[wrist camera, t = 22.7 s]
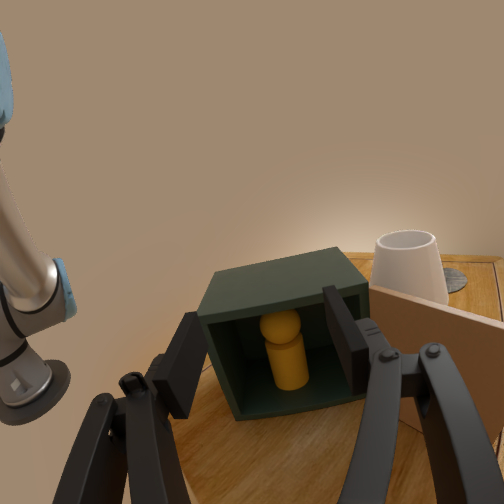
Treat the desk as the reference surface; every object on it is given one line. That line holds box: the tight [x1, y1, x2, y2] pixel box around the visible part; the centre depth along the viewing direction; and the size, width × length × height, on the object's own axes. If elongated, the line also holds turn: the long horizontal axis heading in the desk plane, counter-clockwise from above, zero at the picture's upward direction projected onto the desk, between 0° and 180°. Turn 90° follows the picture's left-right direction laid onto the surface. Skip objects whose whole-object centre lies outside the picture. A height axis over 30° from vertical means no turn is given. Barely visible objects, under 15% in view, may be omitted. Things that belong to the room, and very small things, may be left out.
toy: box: [260, 309, 309, 390], centre depth 32 cm, size 5×5×11 cm
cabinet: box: [197, 247, 370, 421], centre depth 32 cm, size 12×16×15 cm
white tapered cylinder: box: [369, 230, 449, 306], centre depth 36 cm, size 13×13×14 cm
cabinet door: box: [369, 285, 504, 445], centre depth 19 cm, size 6×16×15 cm, turn 28°
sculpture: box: [441, 262, 467, 293], centre depth 47 cm, size 12×9×8 cm
